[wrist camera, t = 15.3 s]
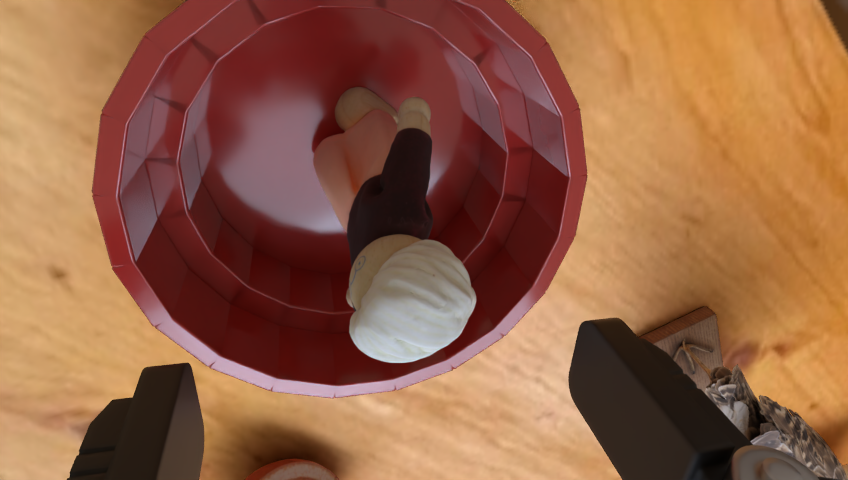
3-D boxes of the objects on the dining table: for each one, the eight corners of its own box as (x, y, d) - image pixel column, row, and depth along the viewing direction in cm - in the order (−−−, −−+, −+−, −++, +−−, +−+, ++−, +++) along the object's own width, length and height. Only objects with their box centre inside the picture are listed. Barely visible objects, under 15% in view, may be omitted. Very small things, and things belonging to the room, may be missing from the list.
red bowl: (186, 308, 25) (152, 421, 19) (109, -65, 18) (17, -71, 12) (494, 282, 28) (548, 373, 22) (535, -44, 21) (632, -40, 15)
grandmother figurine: (313, 57, 21) (336, 183, 10) (410, 64, 21) (530, 186, 11) (311, 234, 24) (326, 469, 13) (395, 233, 25) (473, 454, 14)
